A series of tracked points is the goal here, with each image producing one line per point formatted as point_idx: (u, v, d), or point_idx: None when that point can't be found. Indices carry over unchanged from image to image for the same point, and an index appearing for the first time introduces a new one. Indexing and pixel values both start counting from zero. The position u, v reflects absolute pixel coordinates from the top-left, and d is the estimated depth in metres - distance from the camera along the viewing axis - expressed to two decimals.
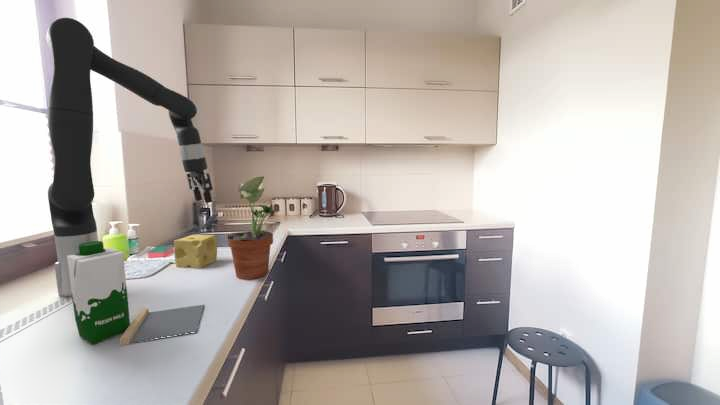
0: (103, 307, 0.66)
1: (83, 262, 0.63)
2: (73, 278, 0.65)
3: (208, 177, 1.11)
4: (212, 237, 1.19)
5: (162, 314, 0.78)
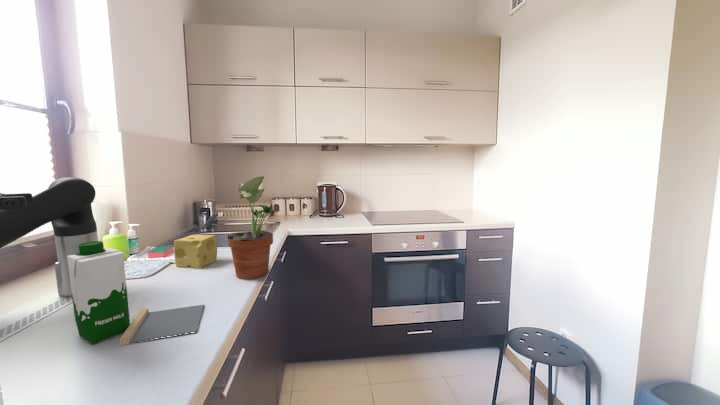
0: (103, 307, 0.66)
1: (83, 262, 0.63)
2: (73, 278, 0.65)
3: None
4: (212, 237, 1.19)
5: (162, 314, 0.78)
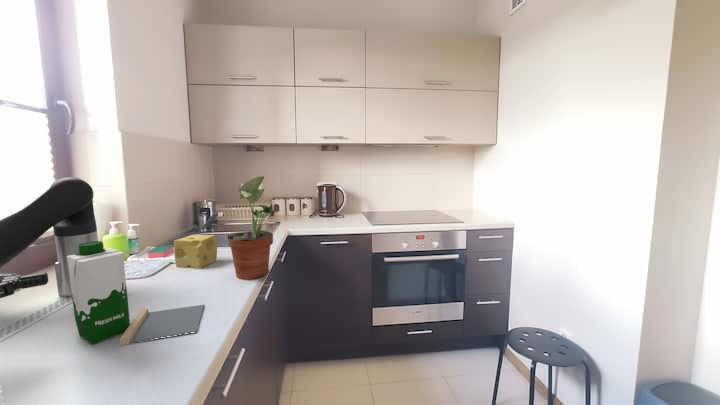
0: (103, 307, 0.66)
1: (83, 262, 0.63)
2: (73, 278, 0.65)
3: None
4: (212, 237, 1.19)
5: (162, 314, 0.78)
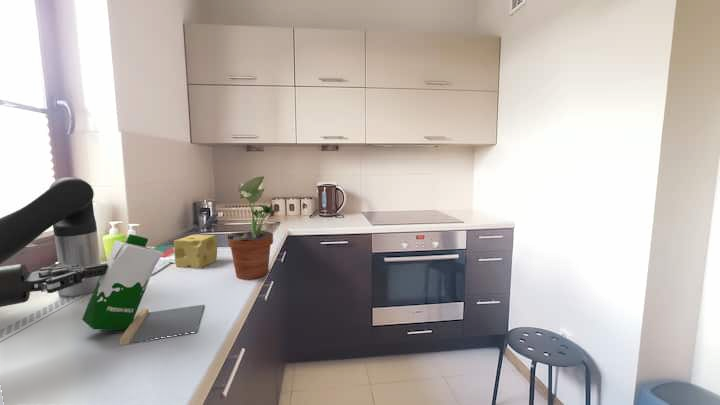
0: (122, 295, 0.69)
1: (130, 247, 0.70)
2: (112, 259, 0.70)
3: (57, 280, 0.61)
4: (212, 237, 1.19)
5: (162, 314, 0.78)
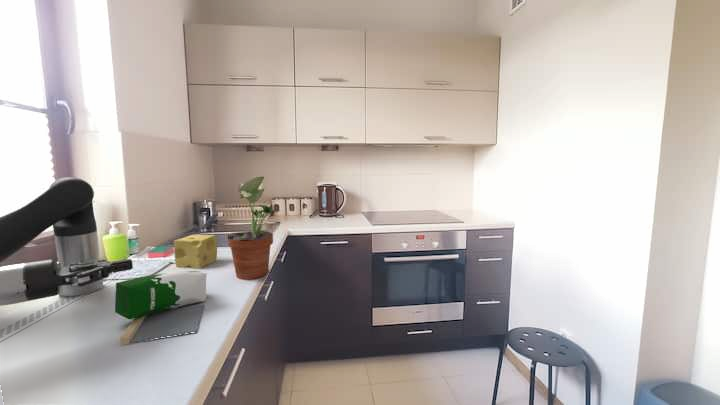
0: (167, 291, 0.76)
1: (205, 274, 0.85)
2: (185, 271, 0.84)
3: (87, 274, 0.65)
4: (212, 237, 1.19)
5: (162, 314, 0.78)
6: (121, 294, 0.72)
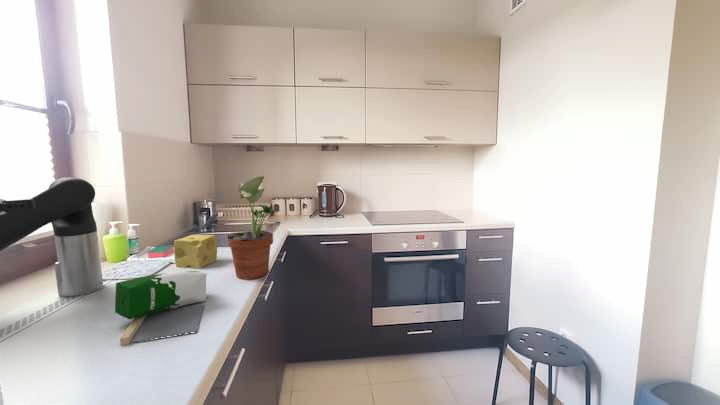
0: (167, 291, 0.76)
1: (205, 274, 0.85)
2: (185, 271, 0.84)
3: None
4: (212, 237, 1.19)
5: (162, 314, 0.78)
6: (121, 294, 0.72)
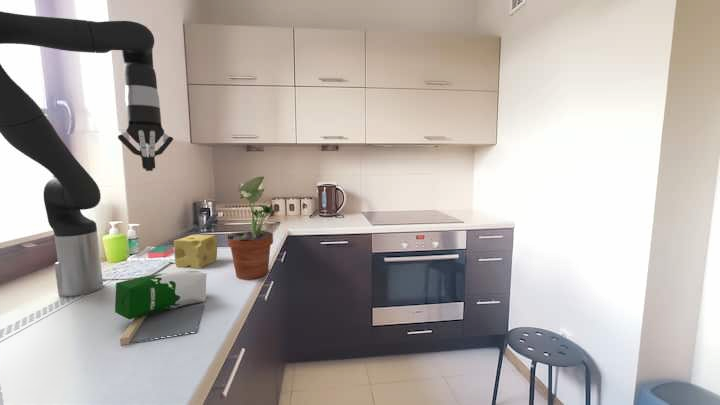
0: (167, 291, 0.76)
1: (205, 274, 0.85)
2: (185, 271, 0.84)
3: None
4: (212, 237, 1.19)
5: (162, 314, 0.78)
6: (121, 294, 0.72)
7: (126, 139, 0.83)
